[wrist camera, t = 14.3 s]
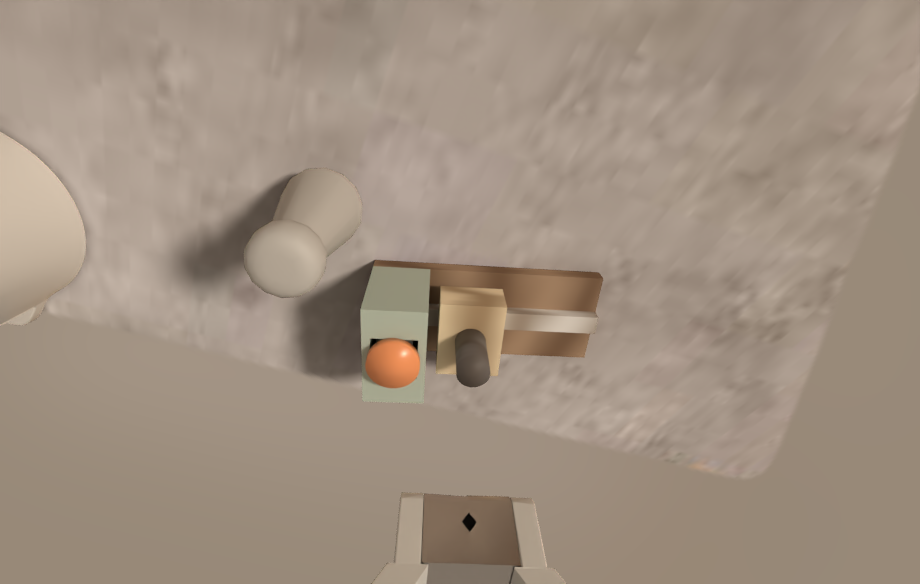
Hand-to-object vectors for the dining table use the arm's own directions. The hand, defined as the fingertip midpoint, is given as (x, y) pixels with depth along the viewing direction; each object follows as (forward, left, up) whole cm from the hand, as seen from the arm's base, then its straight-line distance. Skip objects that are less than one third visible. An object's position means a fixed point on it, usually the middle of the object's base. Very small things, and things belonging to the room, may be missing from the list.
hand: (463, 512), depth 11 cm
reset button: (-3, -11, -25) cm, 27 cm away
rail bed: (+4, -11, -29) cm, 31 cm away
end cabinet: (-3, -11, -28) cm, 30 cm away
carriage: (+2, -11, -27) cm, 29 cm away
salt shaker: (-9, -2, -29) cm, 31 cm away
